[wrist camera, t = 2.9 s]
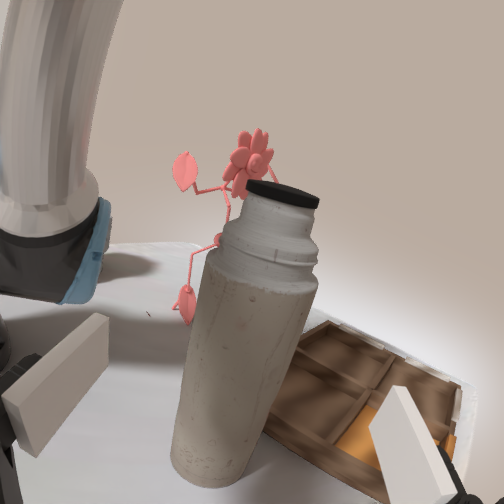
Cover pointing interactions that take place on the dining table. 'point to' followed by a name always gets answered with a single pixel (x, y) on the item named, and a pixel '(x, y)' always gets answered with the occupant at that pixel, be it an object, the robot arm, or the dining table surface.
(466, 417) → the dining table surface
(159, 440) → the dining table surface
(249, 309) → the thermos bottle
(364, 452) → the wooden compartment tray
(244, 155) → the figurine
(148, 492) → the dining table surface
